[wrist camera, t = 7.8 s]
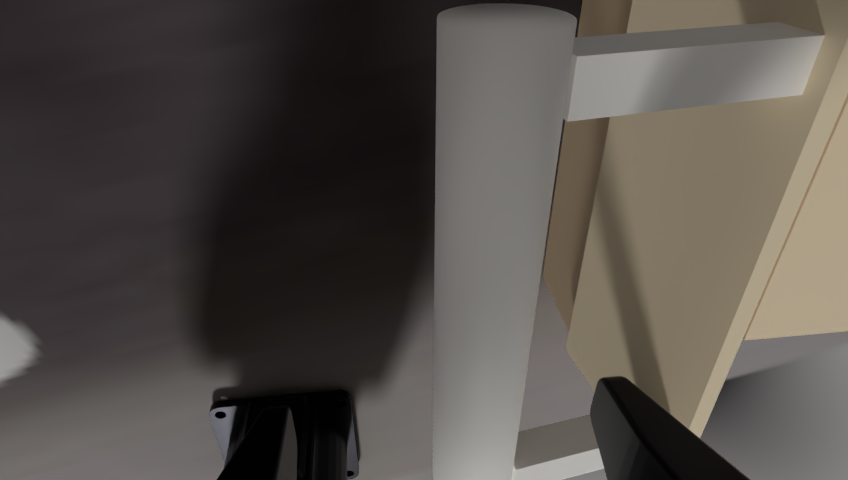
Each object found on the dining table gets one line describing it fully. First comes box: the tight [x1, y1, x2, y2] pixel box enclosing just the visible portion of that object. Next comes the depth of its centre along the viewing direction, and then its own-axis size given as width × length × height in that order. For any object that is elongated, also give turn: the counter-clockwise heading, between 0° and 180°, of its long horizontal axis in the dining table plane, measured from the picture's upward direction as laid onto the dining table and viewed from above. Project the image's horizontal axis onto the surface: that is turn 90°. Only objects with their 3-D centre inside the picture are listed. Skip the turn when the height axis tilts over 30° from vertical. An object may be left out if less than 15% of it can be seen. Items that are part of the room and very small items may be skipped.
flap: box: [432, 0, 848, 480], centre depth 13 cm, size 14×6×7 cm
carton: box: [543, 0, 848, 340], centre depth 19 cm, size 14×12×5 cm
